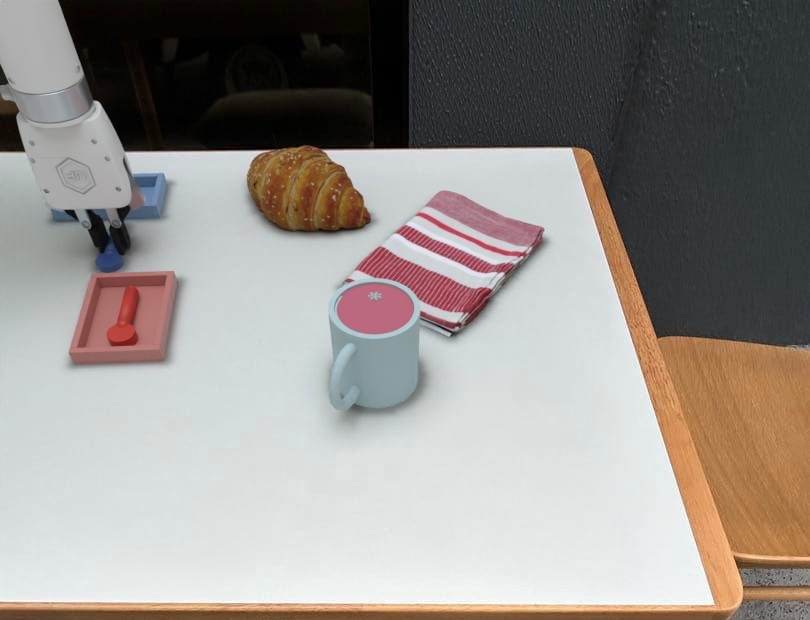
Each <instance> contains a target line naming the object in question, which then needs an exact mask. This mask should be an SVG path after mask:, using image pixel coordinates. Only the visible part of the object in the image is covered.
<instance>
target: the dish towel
mask: <svg viewBox="0 0 810 620" xmlns="http://www.w3.org/2000/svg"><path fill="white" fill-rule="evenodd" d="M544 232H545V227H543V226H541V225H536V224H533V223H529V222H525V221H521V220H518V219H515V218H511V217H507V216H504V215H502V214H500V213H498V212H496V211H494V210H492V209H488V208H487V207H485V206H483V205H481V204H479V203H478V202H475V201H474V200H472V199H470V198H469V197H467V196H465V195H463V194H460V193H457V192H455V191H451V190H447V189H445V190H443V189H442V190H439V191H438V192H437V193H435V195H434V196H433V197H432V198H431V199H430V200H429V201H427V203H426V204H425V205H424V206H423V208H422V209H420V210H419V211H418V212H417V213H416V214H415V215H413V216H412V217H411V218H410V220H408V221H407V222H406V223H405V224H404V225H401V227H399V229H397V230H396V231H395V232H393V234H392V235H390V236H389V237H388V238H387V239H386V240H385V241H383V242H382V243H381V244H380V245H379V246H377V247H376V248H375V249H374V250H373V251H372V252H370V253H369V254H368V255H367V256H366V257H364V259H363V260H361V262H360V263H359V264H358V265H357V266H356V268H355V269H354V270H353V271H352V272H351V274H350V275H349V276H348V277H346V278H345V280H344V281H343V282H342V284H341V287H342V286H344V285H346V284H348V283H350V282H353V281H356V280H361V279H367V278H382V279H388V280H392V281H396V282H398V283H401V284H403V285H404V286H406V287H408V288H409V289H410V290H411V291H413V293H414V294H415V295H416V296H417V298H418V300H419V303H420V326H423V327H425V328H427V329H430V330H432V331H434V332H437V333H438V334H441V335H443V336H444V337H447V338H451V336H452V335H453V336H454V335H455V334H457V333H459V332H460V331H461V330H462V329H464V328H465V327H467V326H468V325H469V324H470V323H471V322H472V321H473V319H475V318H476V316H477V315H479V313H481V311H482V310H483V309H484V308H485V306H486V305H487V304H488V302H489V301H490V299H491V298H492V297H493V296H494V295H495V294H496V293H497V291H499V290H500V289H501V288H502V287H503V286H504V285H505V283H506V282H508V280H509V279H510V277H512V275H513V274H514V273H515V272H516V271H517V269H519V267H521V265H522V264H523V263H524V262H525V261H526V260H527V259H528V258H529V257H530V255H531V254H532V253H533V252H534V251H535V250H536V249H538V248H540V246H541V245H543V243H544V237H543V235H544Z"/></svg>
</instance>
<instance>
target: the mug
mask: <svg viewBox="0 0 810 620" xmlns="http://www.w3.org/2000/svg"><path fill="white" fill-rule="evenodd" d="M327 313H328V321H329V330H330V340H331V349H332V359H333V366H332V369H331V373H330V377H329V381H328V382H329V383H328V398H329V401H330V404H331V406H332V407H333V408H334V409H335V410H337V411H339V412H342V411H343V412H344V411H347V410H348V409H350V408H351V407H352V406H353V405H357V406H360V407H363V408H367V409H385V408H390V407H393V406H394V407H395V406H397V405H399V404H402V403H403V402H405V401H406V400H407V399H409V398H410V397H411V396H412V395H413V393H414V392H415V391H416V390H417V386H418V383H419V359H420V358H419V356H420V328H421V327H420V326H421V324H420V303H419V300H418V298H417V296H416V295H415V294H414V293H413V291H411V290H410V289H409V288H408V287H406V286H404V285H403V284H401V283H398V282H396V281H392V280H388V279H382V278H367V279H361V280H356V281H353V282H350V283H348V284H346V285H344V286H342V285H341V287H340V288H338V289H337V290H336V291H335V292H334V293H333V294H332V295H331V297H330V298H329V301H328V305H327ZM342 397H343V398H342Z"/></svg>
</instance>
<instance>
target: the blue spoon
mask: <svg viewBox="0 0 810 620" xmlns="http://www.w3.org/2000/svg"><path fill="white" fill-rule="evenodd" d="M108 235H109V238H108V242H107V245H106V249H105V252H104V253H102V254H101V253H100V254H99V255H97V256H96V258H95V259H94V263H95V265H96V267H97V269H98V271H100V273H116V272H117V271H119V270H121V268H123V266H124V261H123V258H122V255H120V254H119V253H118V251H117V249H116V247H115V244H114V242H113V239H112V237H111V234H110V233H109V234H108Z"/></svg>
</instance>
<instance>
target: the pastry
mask: <svg viewBox="0 0 810 620" xmlns="http://www.w3.org/2000/svg"><path fill="white" fill-rule="evenodd" d="M246 182H247V183H246V185H247V188H248V192H249V193H250V195H251V197H252V198H253V201H254V204H255V205H256V206H255V207H257V208H258V209H259V210H260V211H262V212H263V214H264V216H265V217H266V219H268V220H269V221H270V222H271V223H273V224H277V226H278V227H280V228H281V229H284V230H286V231H289V232H296V231H299V230H302V231H306V232H317V231H319V229H322V230H325V231H332V232H333V231H337V230H339V229H342V228H345V229H355V228H361V227H363V226H365V225H366V224H368V223H370V221H371V214H370V212H369V210H368V208H367V207H366V206H365V200H364V196H363V195H362V193H361V192H360V191H359V190H357V189H356V188H355V187H354V184H353V181H352V179H351V178H350V176H349V175H348V172H347V171H346V168H345V167H344V166H343V165H342V164H338V163H337V162H335V161H334V160H332V159H331V158H330V157H329V155H328V153H327V152H326V151H324V150H323V149H321V148H318V147H315V146H311V145H305V144H304V145H301V146H299V147H283V148H281V149H273V150H272V149H270V150H269V151H264V152H262V153H259V154H257V155H256V156H255V157H253V159H252V161H251V163H250V165H249V169H248V171H247V174H246Z"/></svg>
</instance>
